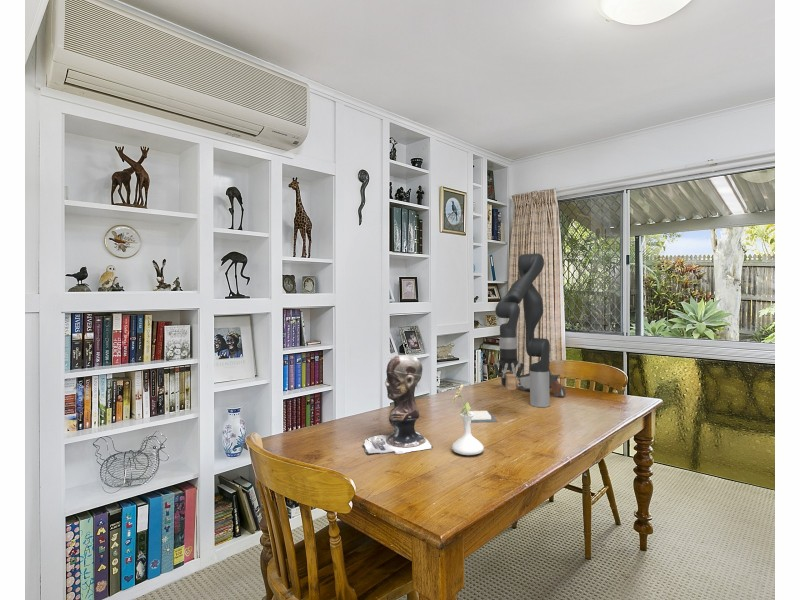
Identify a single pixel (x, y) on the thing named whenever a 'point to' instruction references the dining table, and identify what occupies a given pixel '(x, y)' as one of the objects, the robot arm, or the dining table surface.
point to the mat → (487, 420)
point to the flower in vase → (466, 432)
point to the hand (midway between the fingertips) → (508, 385)
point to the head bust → (401, 409)
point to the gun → (553, 383)
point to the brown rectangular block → (510, 381)
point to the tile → (480, 415)
